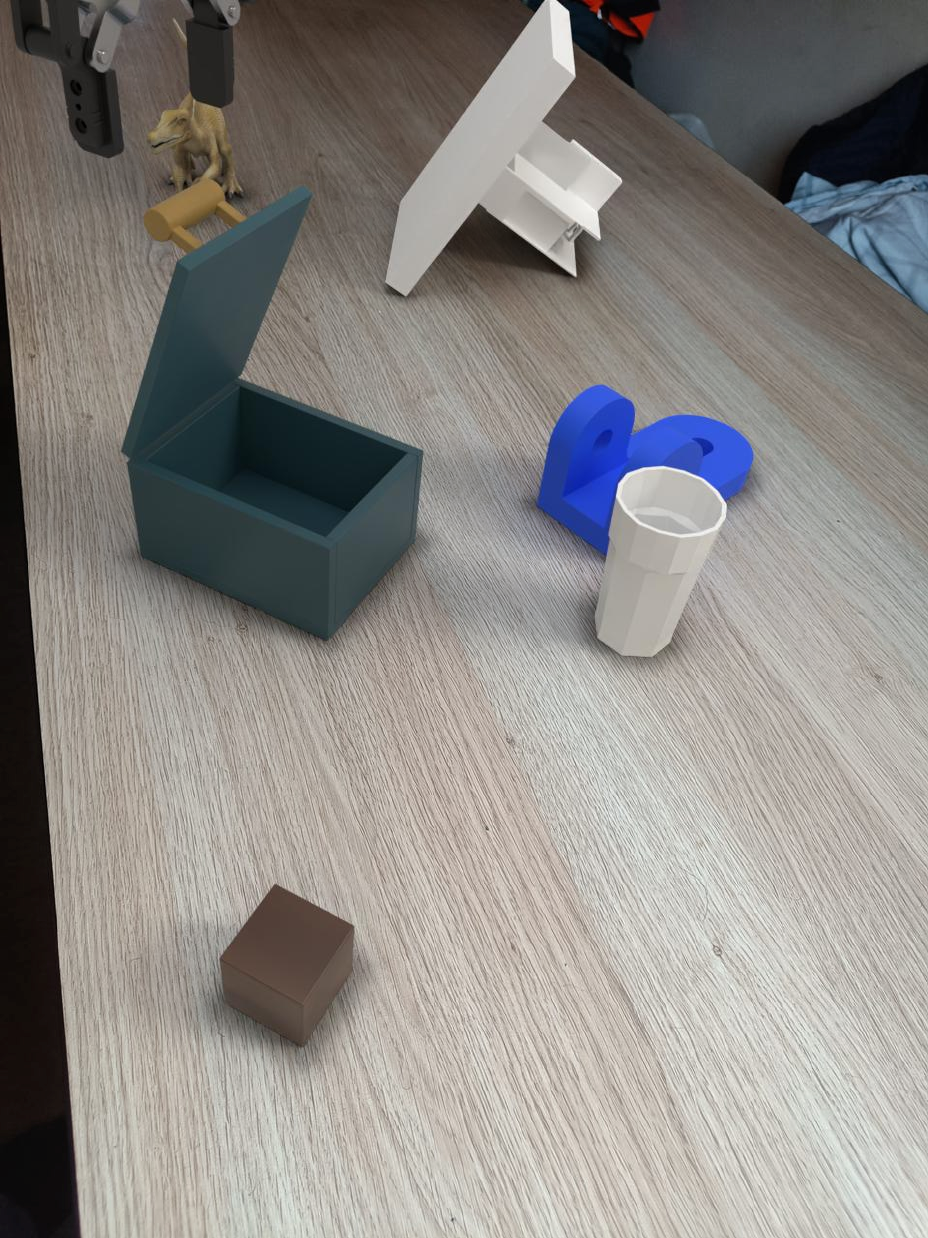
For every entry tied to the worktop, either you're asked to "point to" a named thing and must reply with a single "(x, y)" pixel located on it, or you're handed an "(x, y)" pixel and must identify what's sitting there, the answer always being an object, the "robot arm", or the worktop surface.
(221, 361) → the lid
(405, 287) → the white tilted panel stand
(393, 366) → the worktop surface
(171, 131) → the dinosaur figurine
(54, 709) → the worktop surface
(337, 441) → the box
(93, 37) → the robot arm
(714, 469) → the bracket
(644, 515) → the cup
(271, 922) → the block
